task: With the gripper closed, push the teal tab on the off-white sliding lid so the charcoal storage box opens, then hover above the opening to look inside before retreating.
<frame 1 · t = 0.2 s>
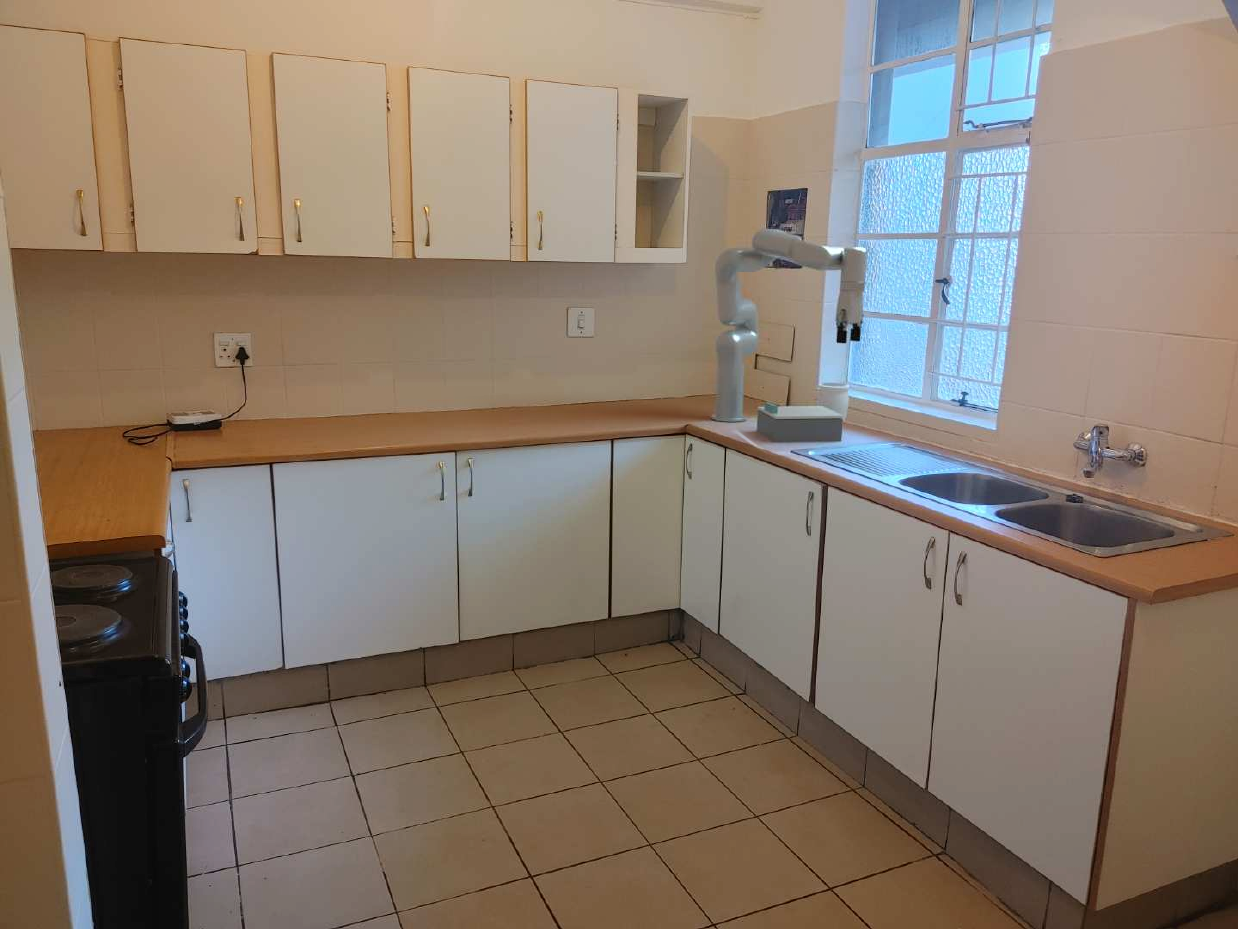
hand: (848, 341, 292), 31 cm above the worktop, tool pointing down, fingers open, 9 cm apart
lid: (799, 408, 293), point 10 cm above the worktop, slide at 0.0 cm
jar: (831, 428, 315), on the worktop
storage box: (797, 438, 296), on the worktop
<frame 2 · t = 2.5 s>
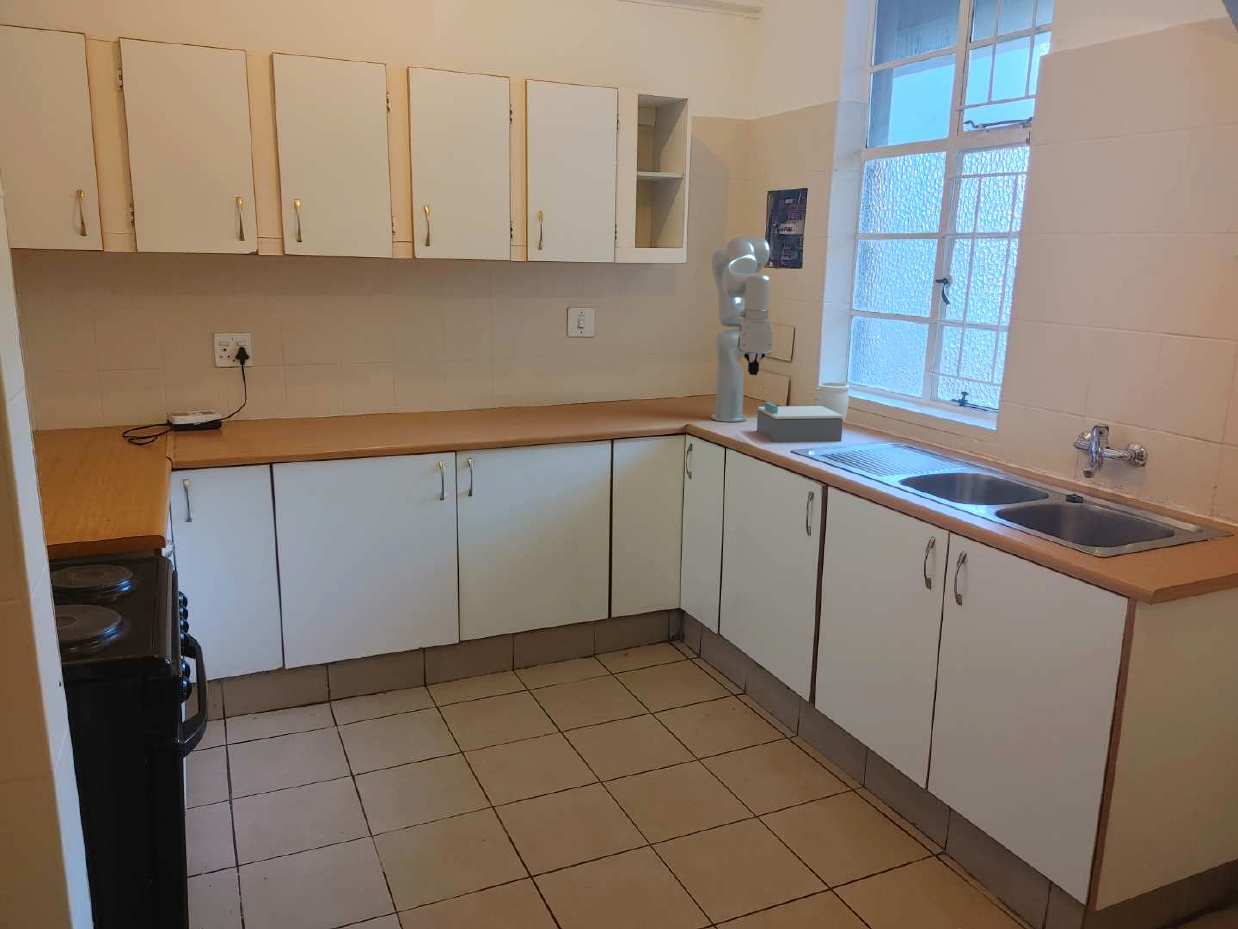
hand: (753, 374, 288), 21 cm above the worktop, tool pointing down, fingers closed
nothing on the worktop moved.
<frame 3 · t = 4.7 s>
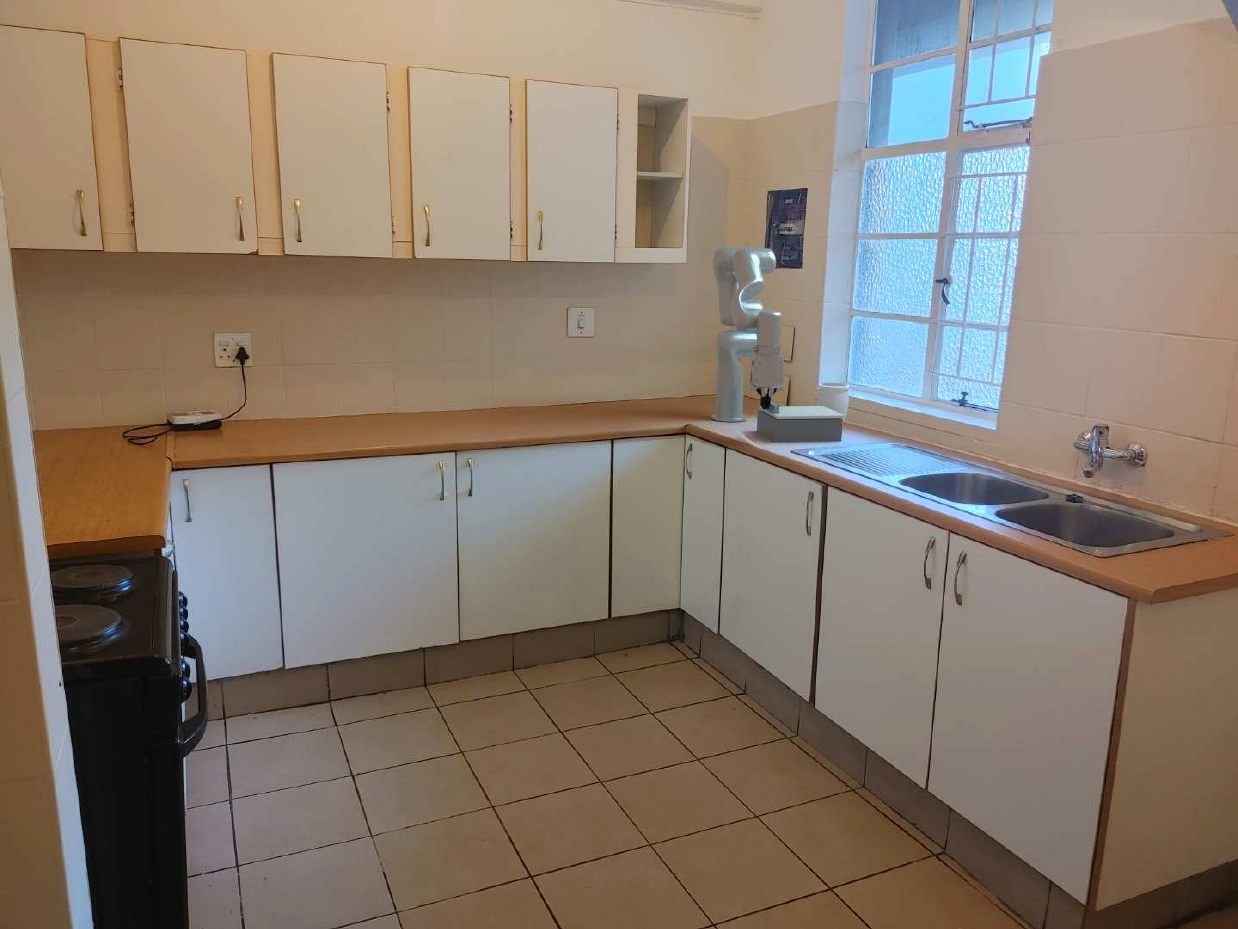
hand: (765, 408, 292), 10 cm above the worktop, tool pointing down, fingers closed
lid: (801, 408, 293), point 10 cm above the worktop, slide at 0.6 cm, touching gripper
everything else where it was.
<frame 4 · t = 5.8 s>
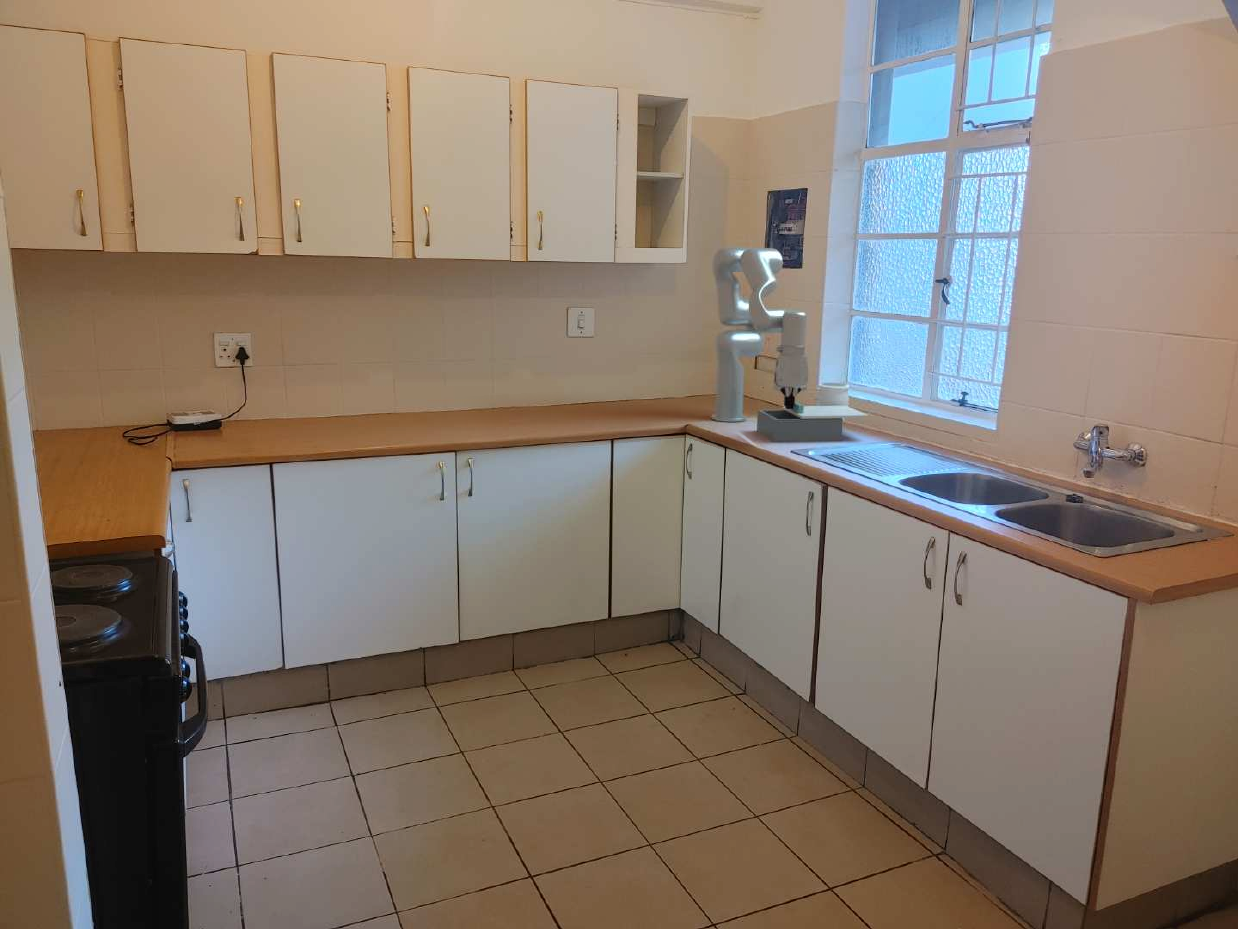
hand: (789, 408, 293), 10 cm above the worktop, tool pointing down, fingers closed
lid: (824, 408, 295), point 10 cm above the worktop, slide at 8.5 cm, touching gripper
everything else where it was.
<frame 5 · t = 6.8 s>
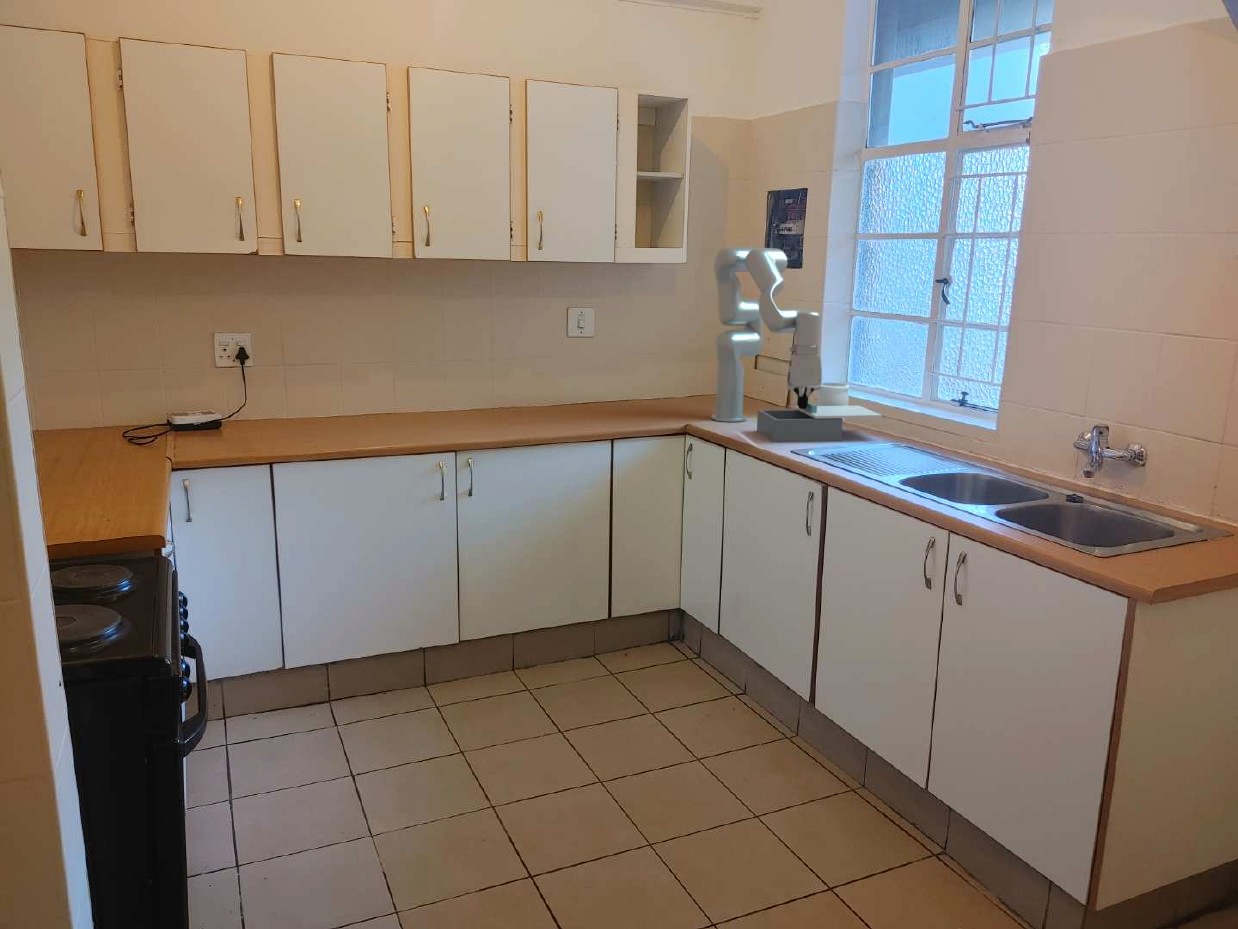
hand: (802, 408, 293), 10 cm above the worktop, tool pointing down, fingers closed
lid: (838, 408, 295), point 10 cm above the worktop, slide at 12.9 cm, touching gripper
everything else where it was.
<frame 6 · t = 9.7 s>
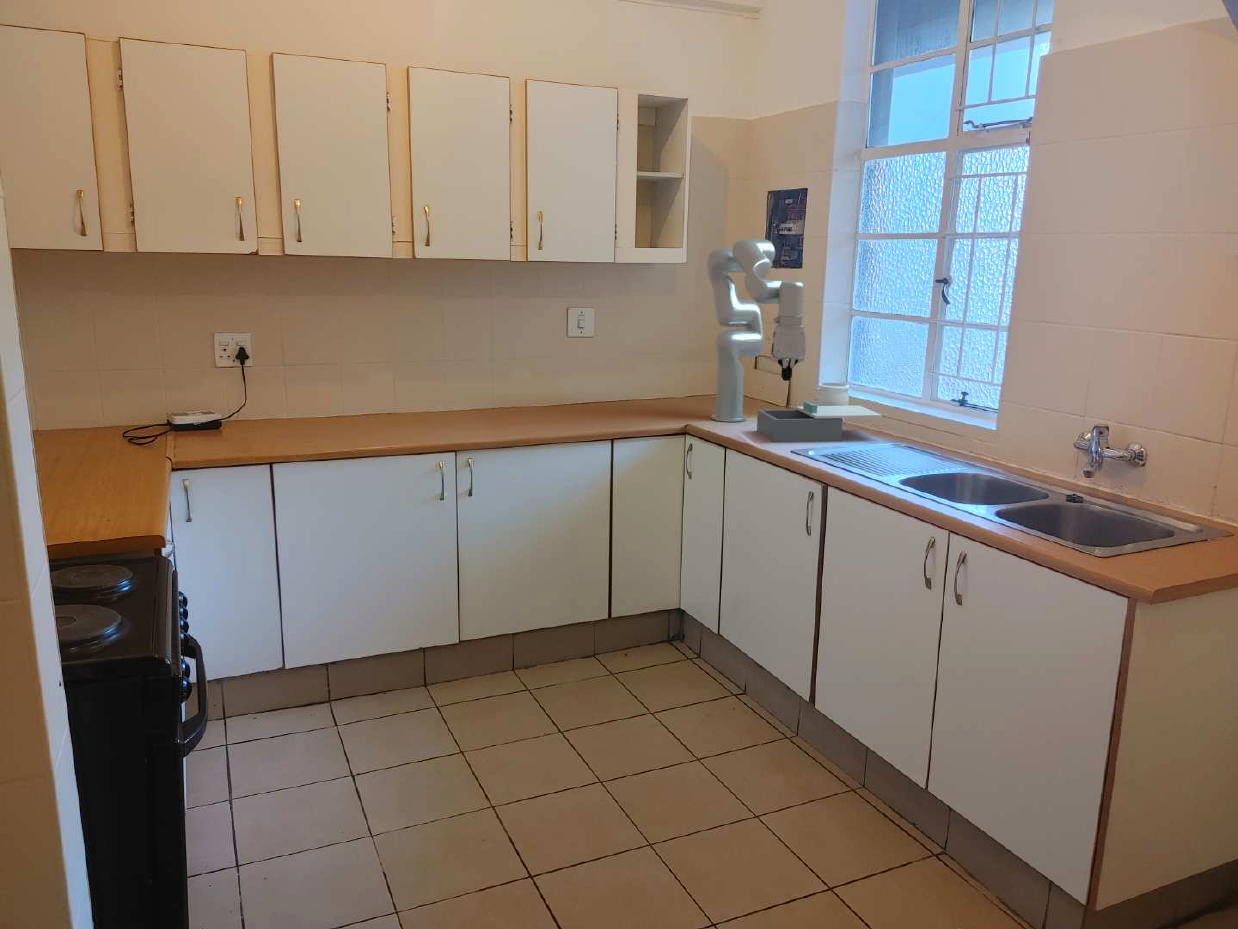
hand: (786, 380, 290), 19 cm above the worktop, tool pointing down, fingers closed
lid: (838, 408, 295), point 10 cm above the worktop, slide at 13.0 cm
everything else where it was.
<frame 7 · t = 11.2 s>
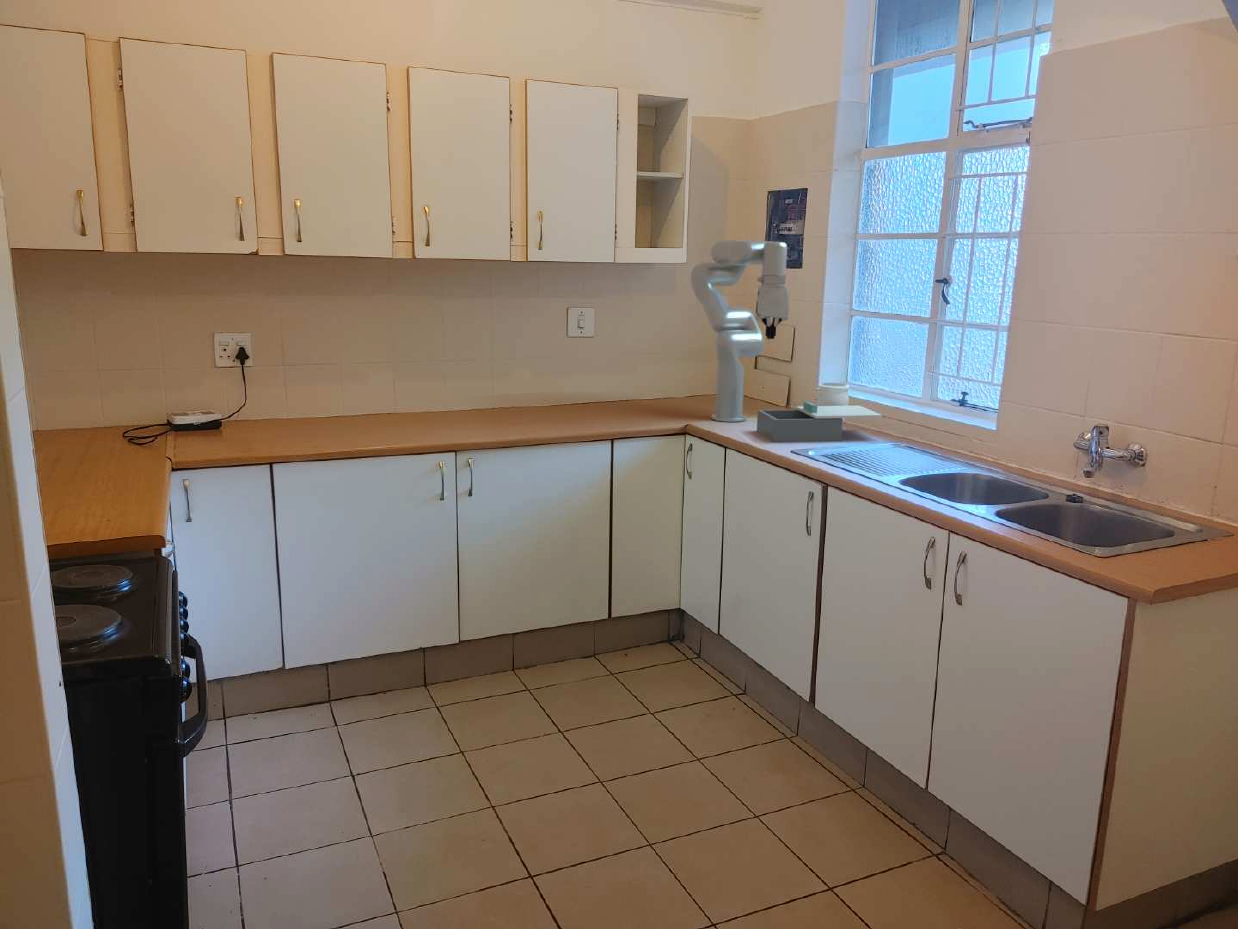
hand: (770, 338, 299), 31 cm above the worktop, tool pointing down, fingers closed
nothing on the worktop moved.
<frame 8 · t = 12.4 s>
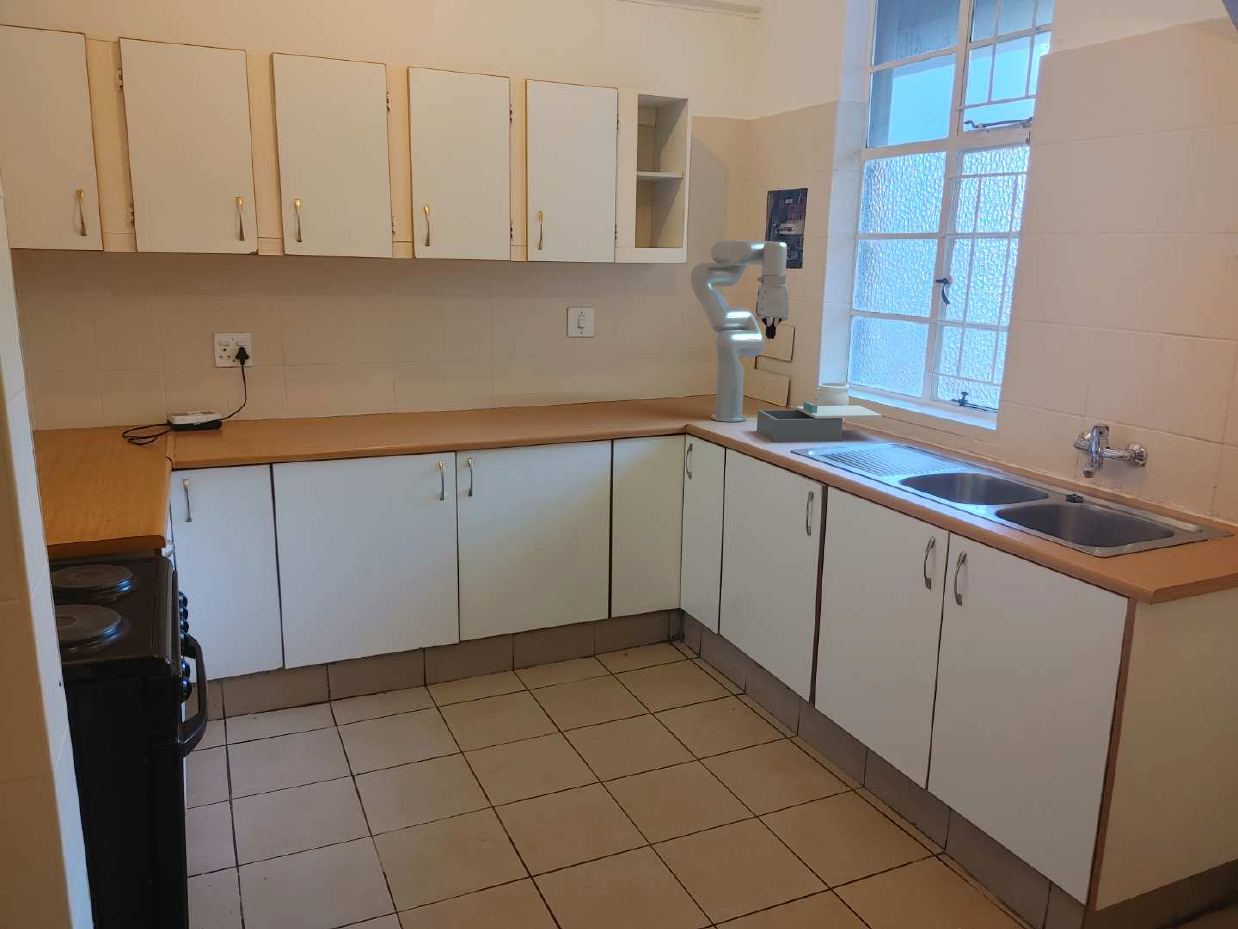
hand: (770, 338, 299), 31 cm above the worktop, tool pointing down, fingers closed
nothing on the worktop moved.
at the end: lid slide at 13.0 cm; jar moved 0.2 cm from its start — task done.
